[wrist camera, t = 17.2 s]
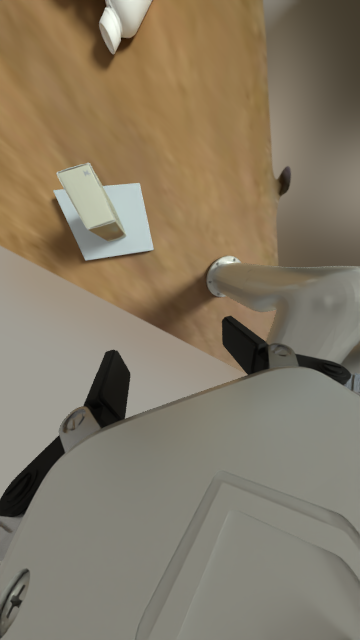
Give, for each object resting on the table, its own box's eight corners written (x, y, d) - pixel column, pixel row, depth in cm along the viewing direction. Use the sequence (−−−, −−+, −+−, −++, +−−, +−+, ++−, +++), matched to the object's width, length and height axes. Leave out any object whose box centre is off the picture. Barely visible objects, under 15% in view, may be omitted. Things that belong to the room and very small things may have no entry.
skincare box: (92, 209, 26) (51, 167, 15) (112, 202, 26) (87, 157, 15) (109, 244, 29) (86, 230, 18) (127, 238, 29) (115, 220, 18)
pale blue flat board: (140, 189, 28) (139, 183, 26) (153, 249, 34) (153, 249, 32) (62, 196, 26) (53, 190, 24) (90, 259, 32) (85, 260, 30)
